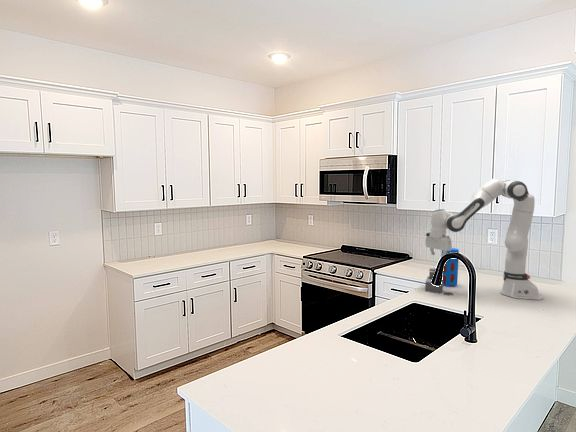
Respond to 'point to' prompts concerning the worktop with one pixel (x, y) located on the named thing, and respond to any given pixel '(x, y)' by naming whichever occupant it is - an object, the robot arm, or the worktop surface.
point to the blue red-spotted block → (450, 271)
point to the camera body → (432, 288)
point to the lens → (431, 273)
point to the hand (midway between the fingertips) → (438, 256)
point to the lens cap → (448, 293)
